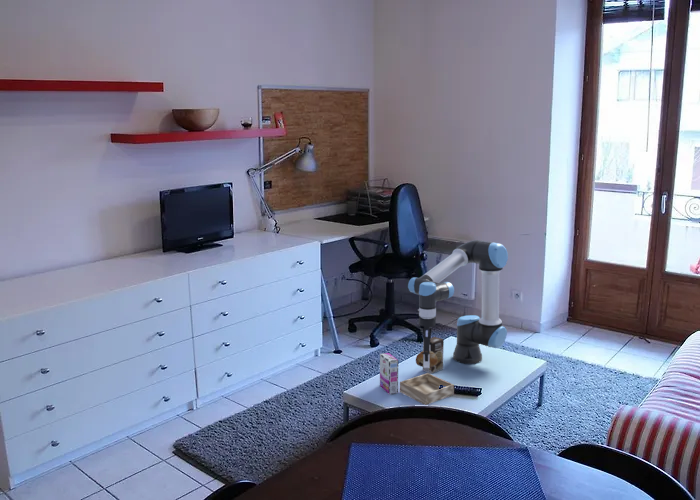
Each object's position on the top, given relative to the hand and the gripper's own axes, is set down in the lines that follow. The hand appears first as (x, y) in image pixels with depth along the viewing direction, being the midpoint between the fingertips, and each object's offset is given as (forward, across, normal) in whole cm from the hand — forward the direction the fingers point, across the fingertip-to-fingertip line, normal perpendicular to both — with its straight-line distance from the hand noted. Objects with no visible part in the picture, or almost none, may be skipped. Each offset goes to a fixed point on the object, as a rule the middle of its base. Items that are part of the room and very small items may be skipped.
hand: (426, 362), depth 283 cm
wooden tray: (+15, 0, 0) cm, 15 cm away
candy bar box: (+15, -2, -18) cm, 23 cm away
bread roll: (+1, 0, 0) cm, 1 cm away
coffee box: (+15, -29, +2) cm, 33 cm away
